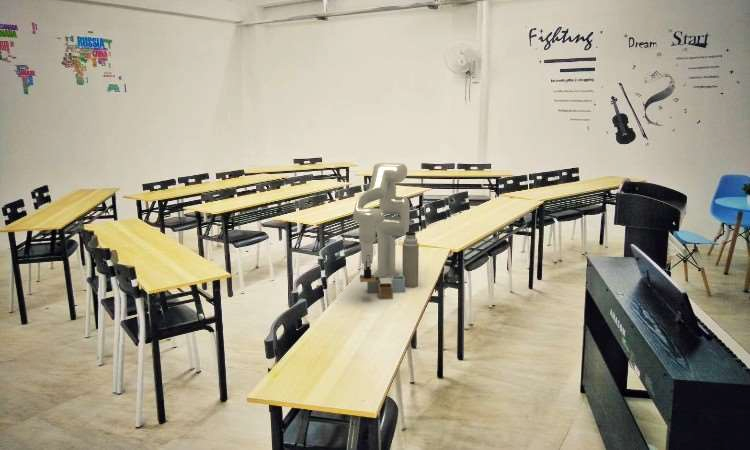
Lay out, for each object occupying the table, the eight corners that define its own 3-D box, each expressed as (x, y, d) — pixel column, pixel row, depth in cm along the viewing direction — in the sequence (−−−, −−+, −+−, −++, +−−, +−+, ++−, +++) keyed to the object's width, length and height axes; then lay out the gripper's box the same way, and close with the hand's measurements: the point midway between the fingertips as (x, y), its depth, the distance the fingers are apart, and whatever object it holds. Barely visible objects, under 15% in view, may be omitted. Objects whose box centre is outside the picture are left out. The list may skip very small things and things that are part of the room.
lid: (359, 277, 255) (359, 264, 253) (374, 277, 255) (374, 264, 254) (360, 282, 248) (360, 269, 247) (375, 281, 248) (375, 268, 247)
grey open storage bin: (367, 290, 267) (367, 276, 265) (379, 289, 267) (379, 276, 266) (367, 294, 261) (367, 280, 259) (380, 294, 261) (380, 280, 260)
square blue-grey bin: (391, 289, 268) (391, 276, 266) (403, 289, 268) (403, 275, 267) (392, 293, 262) (392, 279, 260) (404, 293, 262) (405, 279, 261)
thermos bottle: (418, 284, 275) (419, 230, 269) (416, 289, 268) (417, 234, 261) (403, 283, 277) (404, 230, 271) (401, 288, 269) (401, 233, 263)
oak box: (378, 295, 260) (378, 283, 258) (391, 295, 260) (391, 283, 259) (379, 300, 253) (379, 288, 252) (392, 299, 254) (392, 287, 252)
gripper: (358, 234, 255) (358, 271, 259) (360, 242, 239) (360, 282, 243) (374, 234, 256) (374, 271, 260) (377, 242, 240) (377, 281, 244)
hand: (367, 276), depth 251 cm, fingers closed on lid, 2 cm apart
